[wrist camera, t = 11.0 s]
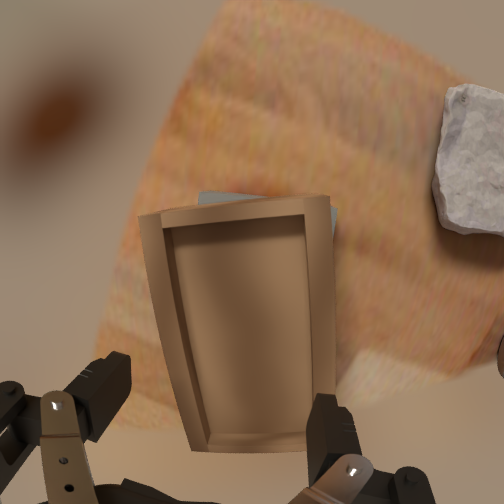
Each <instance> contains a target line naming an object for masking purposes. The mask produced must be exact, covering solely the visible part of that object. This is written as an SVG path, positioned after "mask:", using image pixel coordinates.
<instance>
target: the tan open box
mask: <svg viewBox="0 0 504 504" xmlns="http://www.w3.org/2000/svg"><path fill="white" fill-rule="evenodd" d="M138 220H139V227H140V234H141V241H142V247H143V254H144V260H145V265H146V271H147V277H148V282H149V288H150V293H151V298H152V303H153V308H154V313H155V317H156V322H157V327H158V331H159V336H160V340H161V344H162V348H163V353H164V357H165V361H166V365H167V369H168V373H169V376H170V380H171V384H172V388H173V391H174V395H175V399H176V402H177V406H178V409H179V412H180V416H181V419H182V422H183V426H184V429H185V432H186V435H187V438H188V442H189V445H190V448H191V451H197V452H216V453H279V452H298V451H307V444H306V425H307V421H308V418H309V415H310V412H311V409H312V406H313V403H314V400H315V397H316V394H317V393H324V394H334V395H335V386H336V302H335V272H334V251H333V234H332V219H331V206H330V196H327V195H323V194H319V193H311V194H299V195H287V196H276V197H265V198H255V199H245V200H236V201H227V202H218V203H209V204H201V205H192V206H184V207H177V208H170V209H166V210H162V211H158V212H154V213H150V214H146V215H142V216H138Z"/></svg>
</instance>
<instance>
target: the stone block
mask: <svg viewBox="0 0 504 504" xmlns="http://www.w3.org/2000/svg"><path fill="white" fill-rule="evenodd" d="M444 101H445V104H444V111H443V125H442V127H441V133H440V144H439V147H438V151H437V159H436V164H435V175H434V177H433V181H432V192H433V196H434V199H435V203H436V207H437V212H438V219H439V222H440V224H441V225H442V227H444V228H446V229H449V230H452V231H456V232H457V233H459V234H463V235H466V234H471V233H477V234H478V233H491V234H497V235H500V236H502V237H504V94H502V93H499V92H496V91H494V90H492V89H487V88H484V87H481V86H477V85H474V84H463V85H458V86H457V87H454V88H452V87H450V88H449V89H448V91H447V93H446V96H445V99H444Z"/></svg>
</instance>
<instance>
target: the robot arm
mask: <svg viewBox="0 0 504 504" xmlns="http://www.w3.org/2000/svg"><path fill="white" fill-rule="evenodd" d="M498 370H499V372H500V374H501V376H502V377H503V378H504V337H503V340H502V342H501V345H500V349H499V353H498ZM131 385H132V381H131V358H130V356H129V355H126V354H122V353H119V352H116V351H112V352H111V353H110V354H109V355H108V356H107V357H106V358H105V359H102V358H100V359H97V360H95V361H93V362H91V363H90V364H89V365H88V366H87V367H86V368H85V370H83V371H82V372H81V373H80V375H78V376H77V377H76V378H75V379H74V380H73V381H72V382H71V383H70V384H69V385H68V386H67V387H66V388H65V389H64V390H63V391H57V390H56V391H50V392H48V393H46V394H44V395H43V396H42V397H36V396H31V395H26V394H25V392H24V388H23V386H22V385H21V384H19V383H18V382H15V381H5V382H2V383H0V434H1V432H2V431H3V430H4V429H5V428H6V427H7V429H6V431H5V432H4V433H3V434H2V435H1V436H0V495H1V494H2V492H3V491H4V489H5V488H6V486H7V485H8V484H9V482H10V481H11V480H12V478H13V477H14V475H15V474H16V472H17V471H18V470H19V468H20V467H21V466H22V464H23V463H24V462H25V460H26V459H27V457H28V456H29V455H30V453H31V452H32V451H33V450H34V448H35V447H36V446H37V445H38V446H40V448H41V458H42V466H43V473H44V480H45V486H46V492H47V498H48V501H46V502H42V503H39V504H219V503H214V502H188V501H187V502H186V501H179V500H176V499H174V498H172V497H170V496H168V495H166V494H164V493H162V492H160V491H158V490H156V489H154V488H153V487H150V486H147V485H143V484H140V483H137V482H134V481H131V480H129V479H126V478H124V480H123V482H122V484H121V485H118V484H103V485H96V486H95V484H94V481H93V478H92V474H91V471H90V467H89V463H88V459H87V456H86V452H85V448H84V443H85V441H86V440H87V439H88V440H90V441H93V442H95V443H97V441H98V440H99V438H100V437H101V435H102V434H103V432H104V431H105V429H106V428H107V427H108V425H109V424H110V422H111V421H112V419H113V418H114V416H115V415H116V414H117V412H118V411H119V409H120V408H121V406H122V405H123V403H124V402H125V401H126V399H127V398H128V396H129V394H130V391H131ZM306 444H307V459H308V475H309V476H308V477H309V487H306V488H305V489H303V490H302V491H301V492H300V493H299V494H298V495H297V496H296V497H295V498H294V499H292V500H291V501H290V502H289V503H288V504H436V503H435V499H434V496H433V493H432V490H431V487H430V484H429V481H428V478H427V476H426V474H425V473H424V472H423V471H421V470H420V469H418V468H415V467H408V466H407V467H402V468H400V469H398V470H397V471H396V473H395V474H392V473H387V472H382V471H379V470H376V469H374V468H373V465H372V463H371V462H370V461H369V460H368V459H367V458H365V457H363V456H362V452H361V448H360V444H359V440H358V436H357V433H356V428H355V425H354V421H353V417H352V414H351V413H350V412H349V411H348V410H347V408H346V407H339V406H338V404H337V399H336V396H335V395H334V394H324V393H317V394H316V397H315V400H314V403H313V406H312V409H311V412H310V415H309V418H308V421H307V425H306ZM0 504H2V503H1V498H0Z"/></svg>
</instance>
